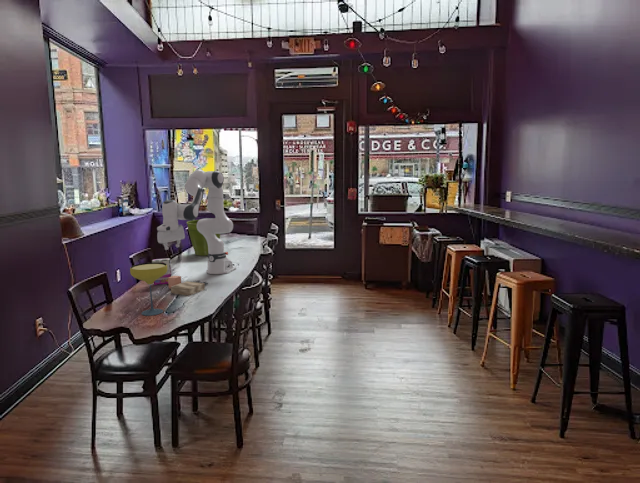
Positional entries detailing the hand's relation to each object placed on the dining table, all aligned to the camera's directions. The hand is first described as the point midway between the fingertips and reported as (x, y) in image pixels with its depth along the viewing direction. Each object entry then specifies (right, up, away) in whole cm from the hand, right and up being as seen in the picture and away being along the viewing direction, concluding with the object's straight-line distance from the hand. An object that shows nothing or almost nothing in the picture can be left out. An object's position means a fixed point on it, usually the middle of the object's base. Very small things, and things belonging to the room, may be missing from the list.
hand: (172, 248), depth 280 cm
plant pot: (-7, -7, +112) cm, 112 cm away
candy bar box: (-11, -24, +14) cm, 29 cm away
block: (0, -25, +4) cm, 25 cm away
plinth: (+11, -26, -5) cm, 29 cm away
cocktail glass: (+4, -33, -44) cm, 55 cm away
